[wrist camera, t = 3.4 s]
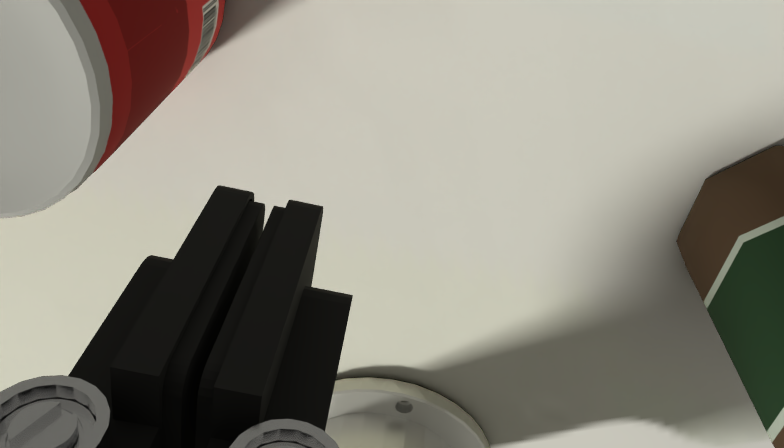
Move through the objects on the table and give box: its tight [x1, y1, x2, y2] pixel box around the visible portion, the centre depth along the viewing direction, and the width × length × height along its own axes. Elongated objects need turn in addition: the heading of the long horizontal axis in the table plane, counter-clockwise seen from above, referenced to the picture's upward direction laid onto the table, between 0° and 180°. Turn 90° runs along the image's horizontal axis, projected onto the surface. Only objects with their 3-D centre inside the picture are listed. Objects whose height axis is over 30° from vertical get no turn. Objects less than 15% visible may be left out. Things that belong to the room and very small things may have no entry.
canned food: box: [0, 0, 225, 218], centre depth 20 cm, size 8×8×11 cm
